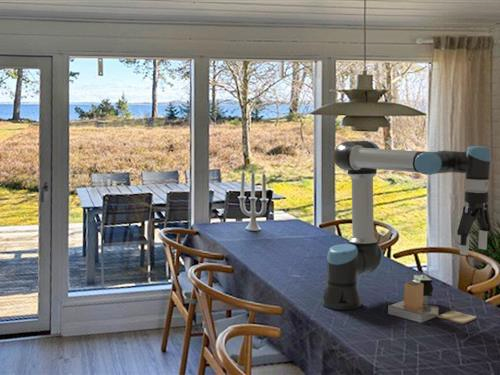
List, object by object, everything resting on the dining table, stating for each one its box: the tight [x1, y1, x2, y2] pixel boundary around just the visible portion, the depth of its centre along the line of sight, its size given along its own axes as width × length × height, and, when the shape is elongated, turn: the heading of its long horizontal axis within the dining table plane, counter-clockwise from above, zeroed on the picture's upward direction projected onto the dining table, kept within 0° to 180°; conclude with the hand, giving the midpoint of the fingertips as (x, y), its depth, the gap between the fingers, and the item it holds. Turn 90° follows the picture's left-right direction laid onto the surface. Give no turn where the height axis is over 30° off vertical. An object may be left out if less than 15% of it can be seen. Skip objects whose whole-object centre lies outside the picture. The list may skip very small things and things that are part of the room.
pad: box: [437, 310, 478, 325], centre depth 213 cm, size 10×10×1 cm
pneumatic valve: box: [411, 274, 434, 304], centre depth 229 cm, size 6×12×12 cm, turn 2°
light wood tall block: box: [403, 280, 424, 311], centre depth 216 cm, size 5×5×12 cm
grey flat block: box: [387, 300, 440, 324], centre depth 217 cm, size 14×12×3 cm
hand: (473, 251), depth 201 cm, fingers open, 13 cm apart
